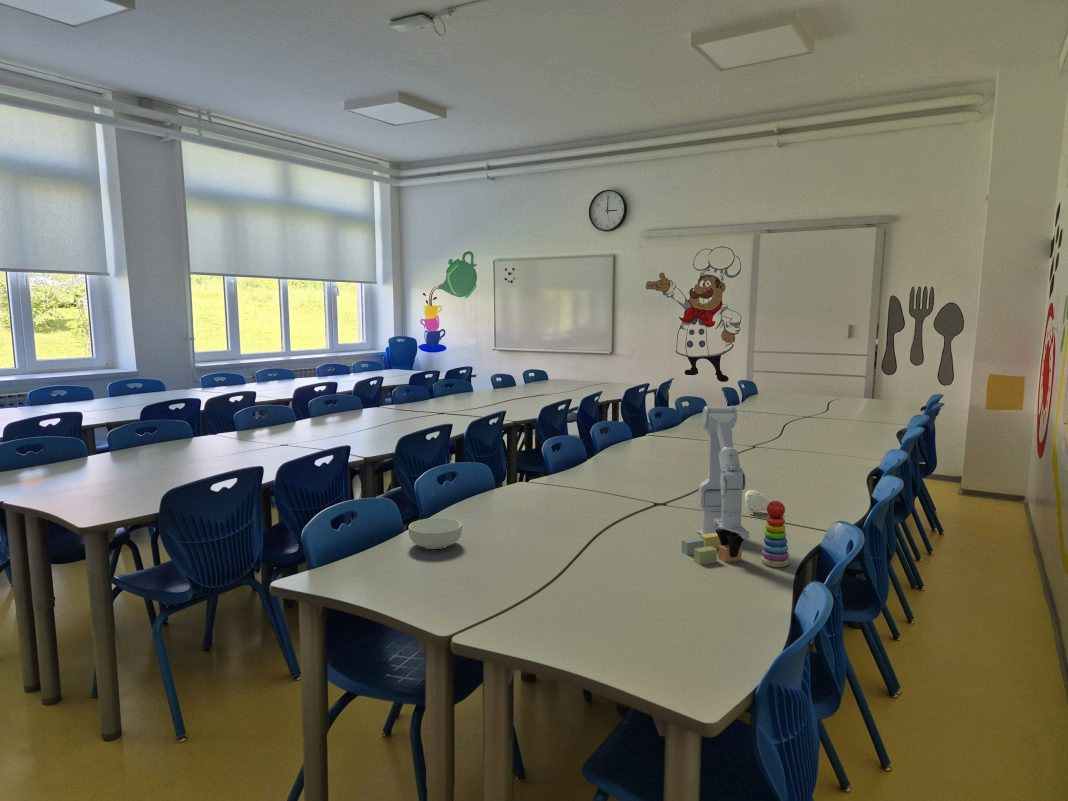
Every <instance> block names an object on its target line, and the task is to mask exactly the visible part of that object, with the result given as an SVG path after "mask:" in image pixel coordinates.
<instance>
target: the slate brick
mask: <svg viewBox="0 0 1068 801" xmlns="http://www.w3.org/2000/svg"><path fill="white" fill-rule="evenodd" d="M702 547H704V540H702V539H700V537H693V538H687V539H682V540H681V553H682V554H684V555H685V556H691V555H694V549H695V548H702Z"/></svg>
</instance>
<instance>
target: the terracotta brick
mask: <svg viewBox="0 0 1068 801" xmlns="http://www.w3.org/2000/svg"><path fill="white" fill-rule="evenodd" d="M742 548H743V546H742V545H741V546H740V549H739V552H738V555H737V557H730V552H729V545H723V546H719V548H718V552H717V559H718V560H719V561H721V562H723V563H728V562H729V563H730V562H736V561H741V560H742Z"/></svg>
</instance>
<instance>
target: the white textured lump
mask: <svg viewBox="0 0 1068 801" xmlns="http://www.w3.org/2000/svg"><path fill="white" fill-rule="evenodd" d="M770 502H772V500H771V501H770V500H769V499H768V498H767V497H766V496H765V495H764V494H762V493H760V491H757V490H754V489H749V490H747V491H746V492H745V494H744V505H745V508H746V511H747V512H748V513H749V514H750V515H751V516H754V515H755V513H756V512H759V511H767V505H768V504H769V503H770ZM754 512H755V513H754Z"/></svg>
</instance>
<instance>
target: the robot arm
mask: <svg viewBox="0 0 1068 801" xmlns="http://www.w3.org/2000/svg"><path fill="white" fill-rule="evenodd" d="M737 419H738V411H737V408H736V407H735V405H729V406H728V405H727V406H725V405H720V406H719V405H705V406H704V407H703V410H702V419H701V421H702V424H701V425H702V428H703V430H705V431H707V434H708V447H707V448H708V450H707V453H708V454H707V456H708V457H707V478H706V479H704V480H703V481H702V482H700V483H699V486H698V491H697V504H698V506H699V507H700V508H702V510H701V511H702V513H701V514H702V518H701V523H702V524H701V529H697V530H696V533H698V534H700V535H703V534H710V533H717V535H718V537H719V539H720V543H721V546H723V545H729V552H730V557H737V555H738V552H739V549H740V546H741V547H742V544H743V543H744V540H747V539H750V531H749V530H747V529H746V528H745V527H744V526H743V525H742V508H743V507H742V505H743V491H745V489H746V474H745V472H744V470H743V468H742V467H741V464H740V462H741V461H740V457H739V452H738V451H737V450H736V449H734V442H733V440H734V439H733V429H735V425H736V423H737Z"/></svg>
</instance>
